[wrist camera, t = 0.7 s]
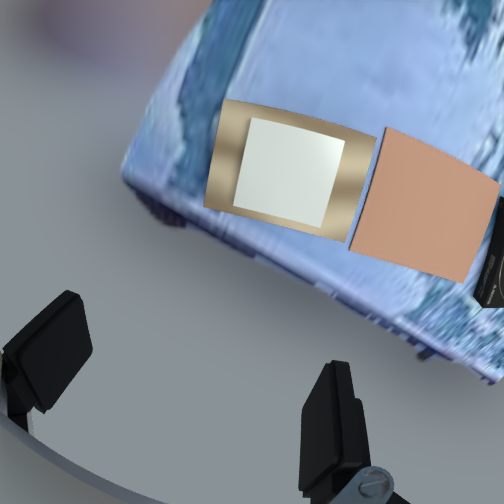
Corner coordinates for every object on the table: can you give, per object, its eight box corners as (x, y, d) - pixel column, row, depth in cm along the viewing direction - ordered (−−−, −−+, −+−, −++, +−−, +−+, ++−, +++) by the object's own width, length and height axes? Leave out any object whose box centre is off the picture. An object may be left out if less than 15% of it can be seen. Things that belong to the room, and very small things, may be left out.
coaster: (254, 118, 26) (251, 117, 25) (341, 140, 26) (345, 141, 24) (236, 201, 30) (233, 205, 28) (318, 221, 30) (320, 228, 28)
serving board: (232, 102, 29) (224, 98, 26) (367, 137, 29) (376, 137, 25) (212, 198, 34) (203, 206, 31) (339, 230, 34) (344, 242, 30)
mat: (386, 127, 28) (387, 127, 28) (499, 184, 27) (500, 184, 27) (348, 249, 35) (349, 250, 34) (461, 282, 34) (462, 283, 34)
